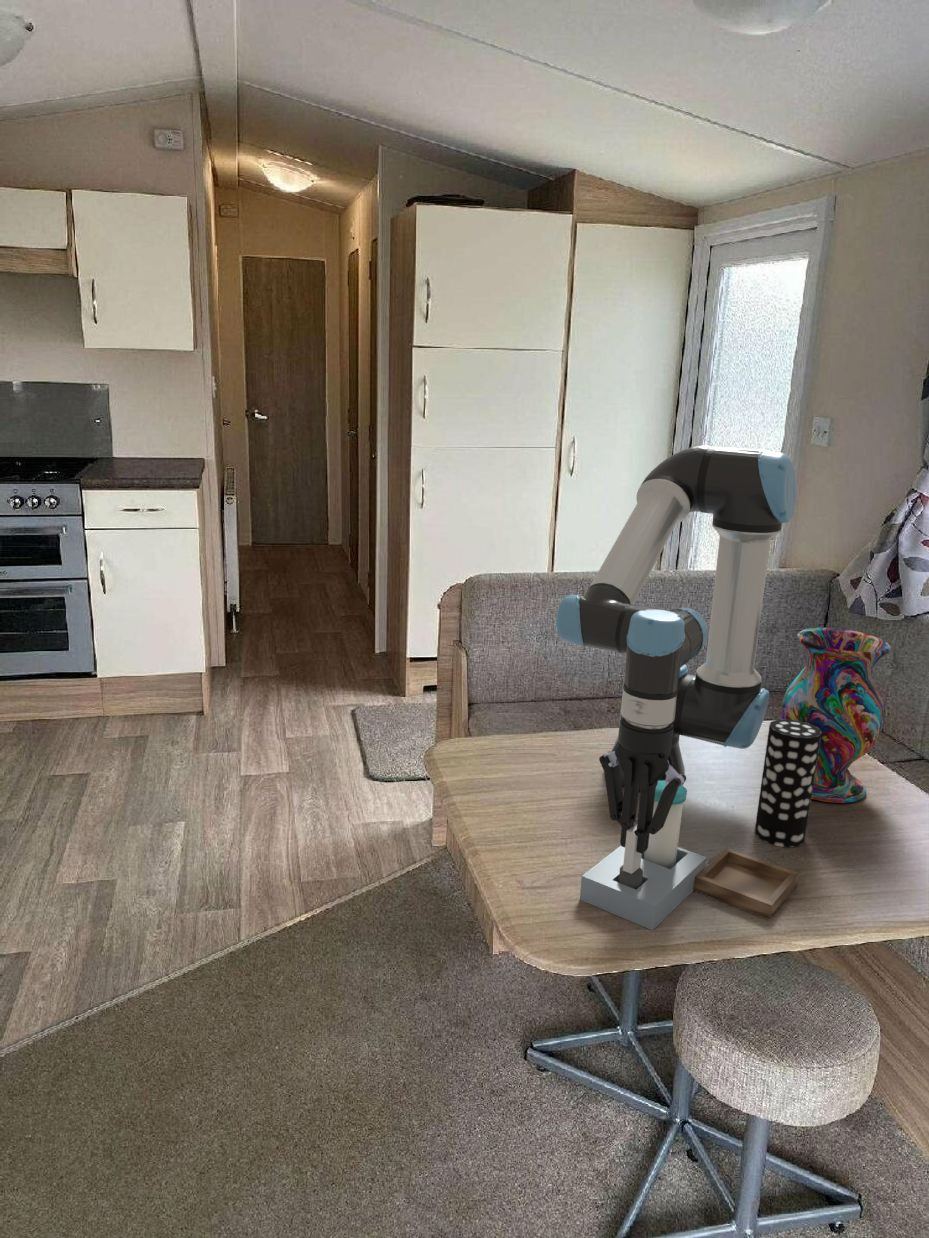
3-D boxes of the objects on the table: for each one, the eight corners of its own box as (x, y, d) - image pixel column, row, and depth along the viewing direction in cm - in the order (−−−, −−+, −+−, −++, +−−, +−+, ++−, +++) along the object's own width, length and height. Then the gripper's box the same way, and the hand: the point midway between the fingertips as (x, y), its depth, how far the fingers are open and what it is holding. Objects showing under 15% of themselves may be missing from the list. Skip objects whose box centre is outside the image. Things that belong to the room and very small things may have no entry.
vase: (823, 814, 173) (848, 658, 165) (751, 774, 188) (771, 630, 180) (891, 797, 181) (918, 648, 173) (817, 760, 197) (839, 622, 189)
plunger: (613, 897, 140) (615, 870, 139) (623, 888, 143) (626, 861, 142) (633, 906, 138) (636, 878, 137) (644, 896, 141) (647, 869, 140)
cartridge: (632, 877, 148) (642, 789, 144) (649, 863, 153) (658, 777, 149) (666, 890, 145) (677, 800, 141) (682, 875, 149) (693, 788, 145)
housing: (579, 899, 141) (581, 875, 140) (635, 854, 155) (637, 832, 154) (652, 930, 134) (655, 905, 133) (703, 879, 148) (706, 857, 147)
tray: (693, 890, 145) (695, 876, 145) (723, 860, 155) (725, 847, 154) (769, 919, 138) (771, 905, 138) (796, 886, 148) (798, 873, 147)
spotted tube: (804, 829, 166) (821, 724, 161) (804, 851, 159) (822, 741, 154) (755, 820, 169) (770, 716, 164) (753, 841, 161) (768, 732, 156)
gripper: (593, 715, 134) (580, 863, 140) (678, 739, 127) (660, 895, 133) (618, 701, 140) (605, 844, 146) (701, 724, 132) (683, 874, 139)
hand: (631, 868), depth 139 cm, fingers closed
